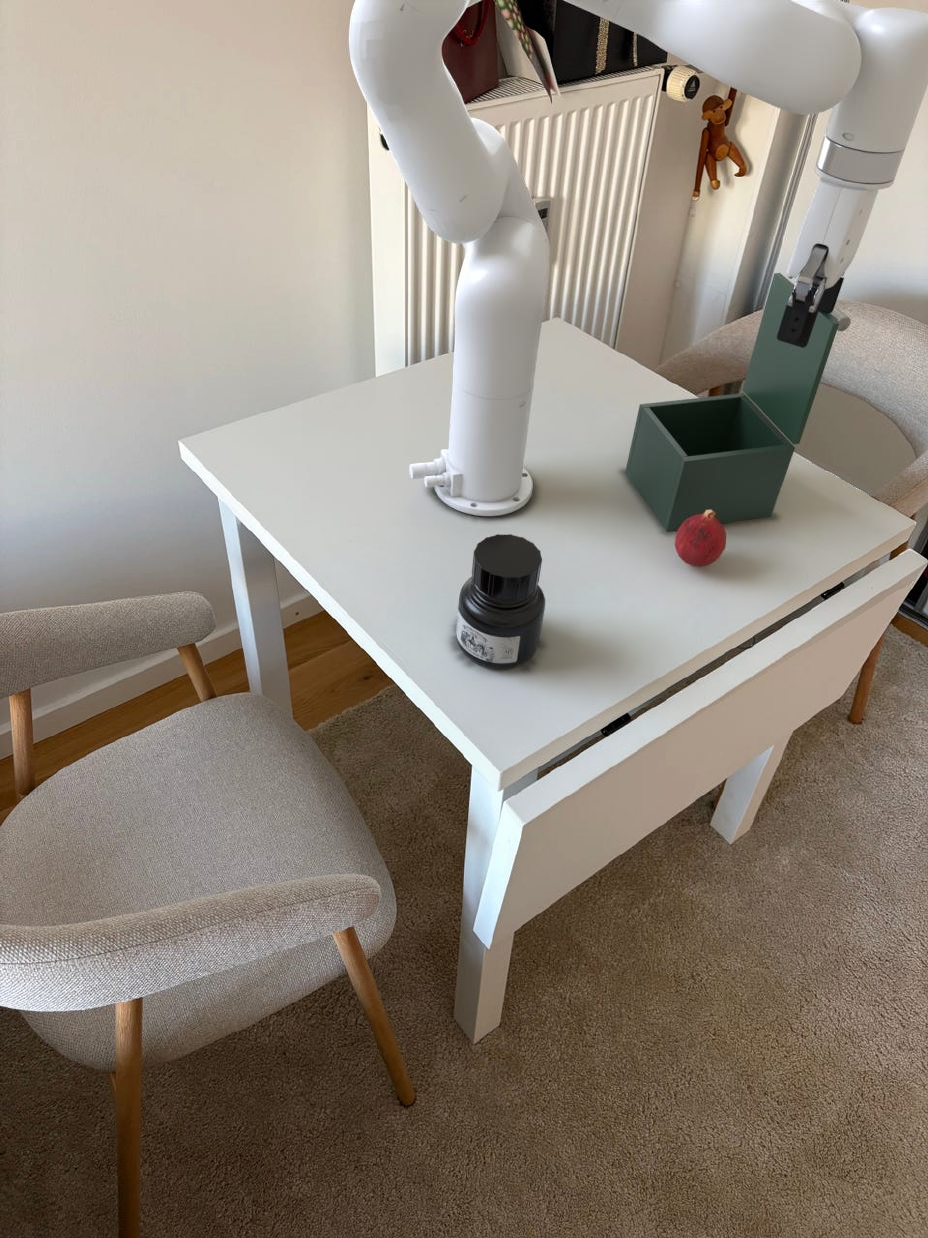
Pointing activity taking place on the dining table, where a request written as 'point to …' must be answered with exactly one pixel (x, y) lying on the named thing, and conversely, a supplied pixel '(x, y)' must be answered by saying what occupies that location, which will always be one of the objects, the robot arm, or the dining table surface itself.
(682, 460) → the bin
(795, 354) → the bin lid
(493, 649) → the ink bottle
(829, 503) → the dining table surface
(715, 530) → the onion
